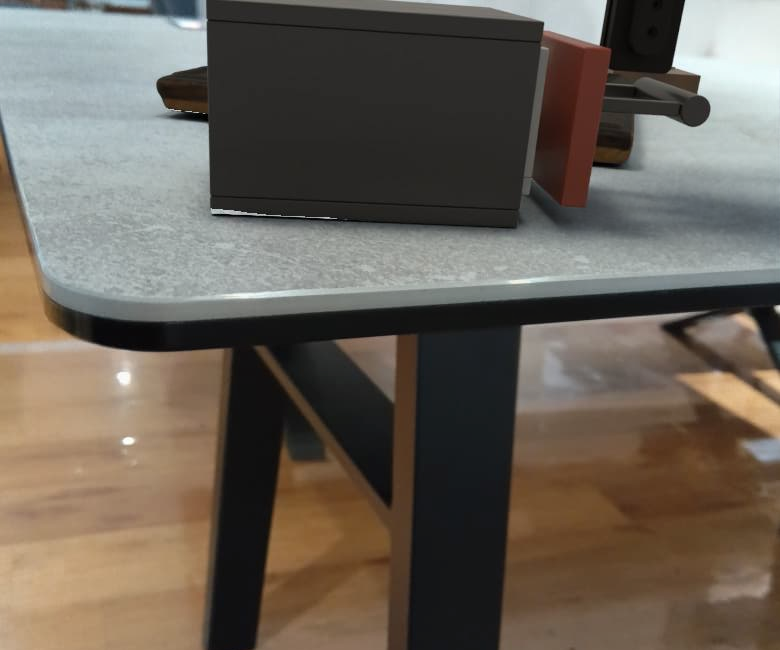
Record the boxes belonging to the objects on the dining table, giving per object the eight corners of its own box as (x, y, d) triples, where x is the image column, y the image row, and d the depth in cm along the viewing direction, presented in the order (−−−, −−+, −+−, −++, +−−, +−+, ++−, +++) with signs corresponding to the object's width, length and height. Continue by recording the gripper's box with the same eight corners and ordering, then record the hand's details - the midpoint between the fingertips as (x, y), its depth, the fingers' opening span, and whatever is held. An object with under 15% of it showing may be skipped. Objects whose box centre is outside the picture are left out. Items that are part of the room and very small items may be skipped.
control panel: (653, 86, 99) (657, 61, 98) (695, 101, 88) (701, 73, 87) (575, 81, 98) (579, 56, 97) (609, 96, 87) (613, 68, 86)
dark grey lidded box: (472, 172, 50) (490, 7, 46) (517, 228, 40) (545, 21, 36) (229, 160, 49) (227, -12, 45) (210, 214, 38) (205, -3, 34)
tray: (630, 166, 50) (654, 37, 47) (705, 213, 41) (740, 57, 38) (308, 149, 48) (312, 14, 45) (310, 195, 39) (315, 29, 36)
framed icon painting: (696, 175, 53) (706, 126, 52) (135, 124, 56) (132, 77, 55) (623, 97, 88) (628, 66, 86) (276, 67, 90) (276, 37, 89)
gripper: (576, -370, 41) (522, 50, 49) (710, -530, 28) (605, 84, 36) (729, -350, 42) (652, 60, 50) (931, -496, 29) (781, 96, 36)
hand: (633, 69), depth 43 cm, fingers closed
